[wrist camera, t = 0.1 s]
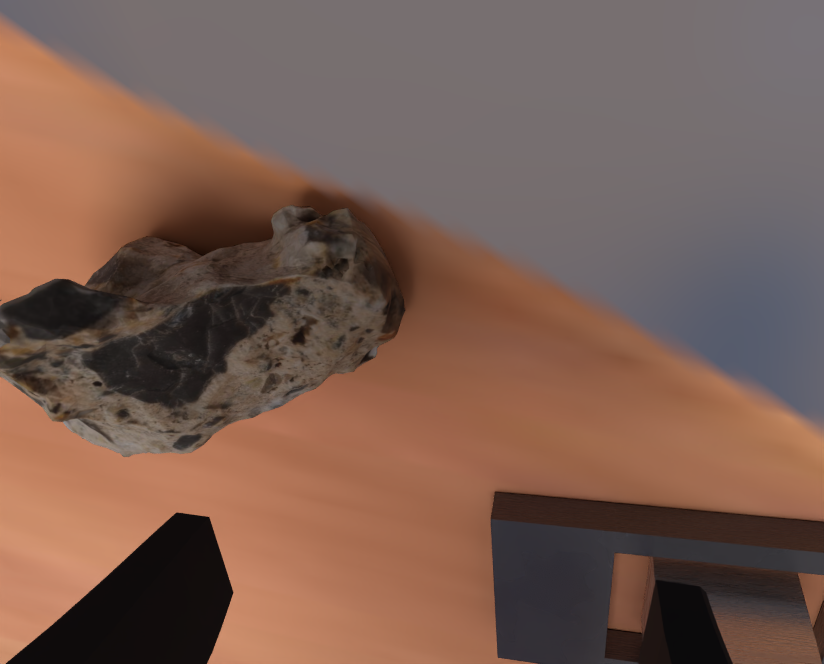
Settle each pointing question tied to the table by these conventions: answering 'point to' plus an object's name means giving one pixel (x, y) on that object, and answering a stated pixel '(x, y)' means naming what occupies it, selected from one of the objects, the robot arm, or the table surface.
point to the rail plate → (593, 566)
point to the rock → (201, 331)
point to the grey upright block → (746, 609)
